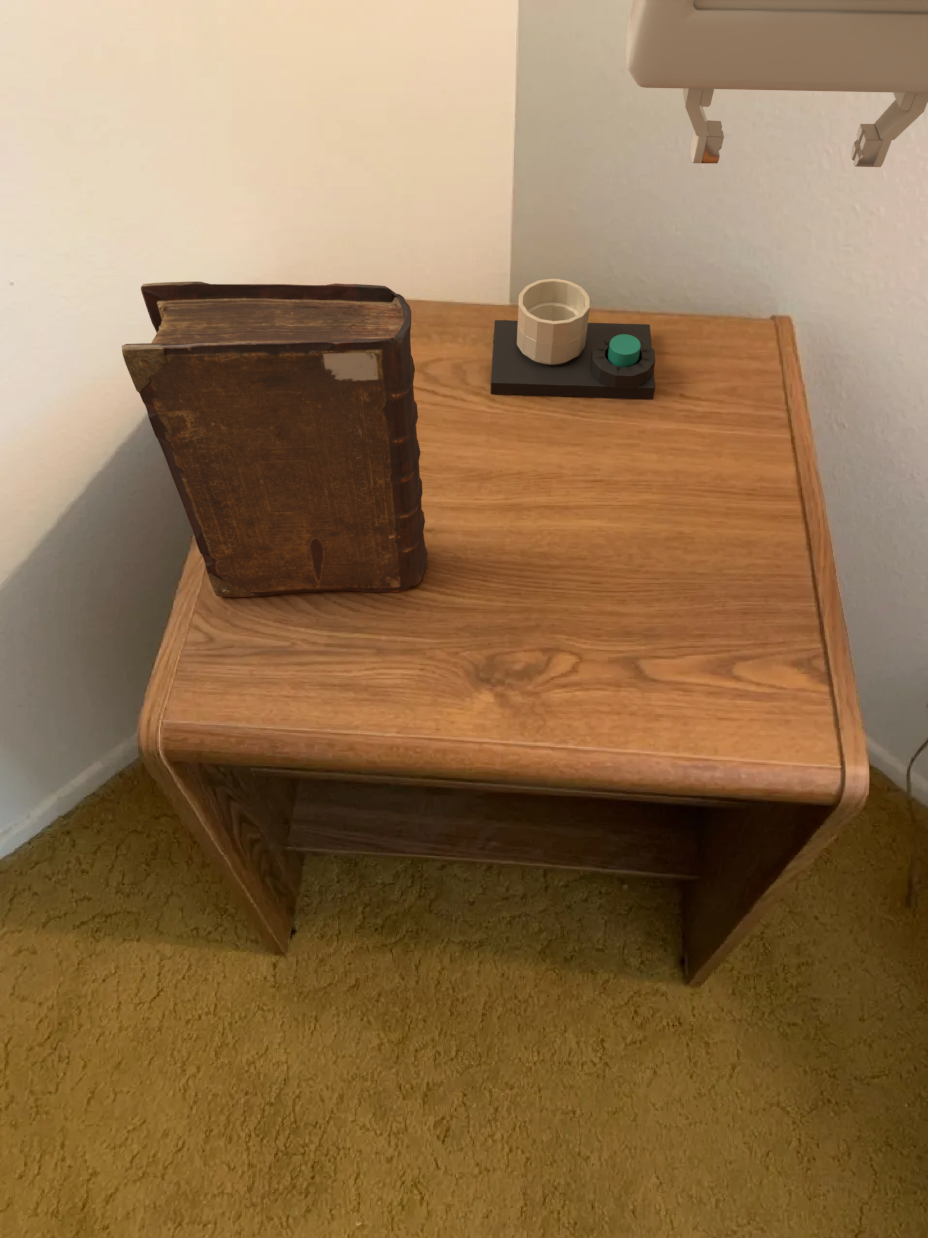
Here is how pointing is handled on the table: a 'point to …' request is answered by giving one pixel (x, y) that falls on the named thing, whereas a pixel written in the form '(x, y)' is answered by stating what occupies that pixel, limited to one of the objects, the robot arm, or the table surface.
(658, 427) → the table surface
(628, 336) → the button
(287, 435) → the book
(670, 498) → the table surface
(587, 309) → the beige cup
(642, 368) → the scale
